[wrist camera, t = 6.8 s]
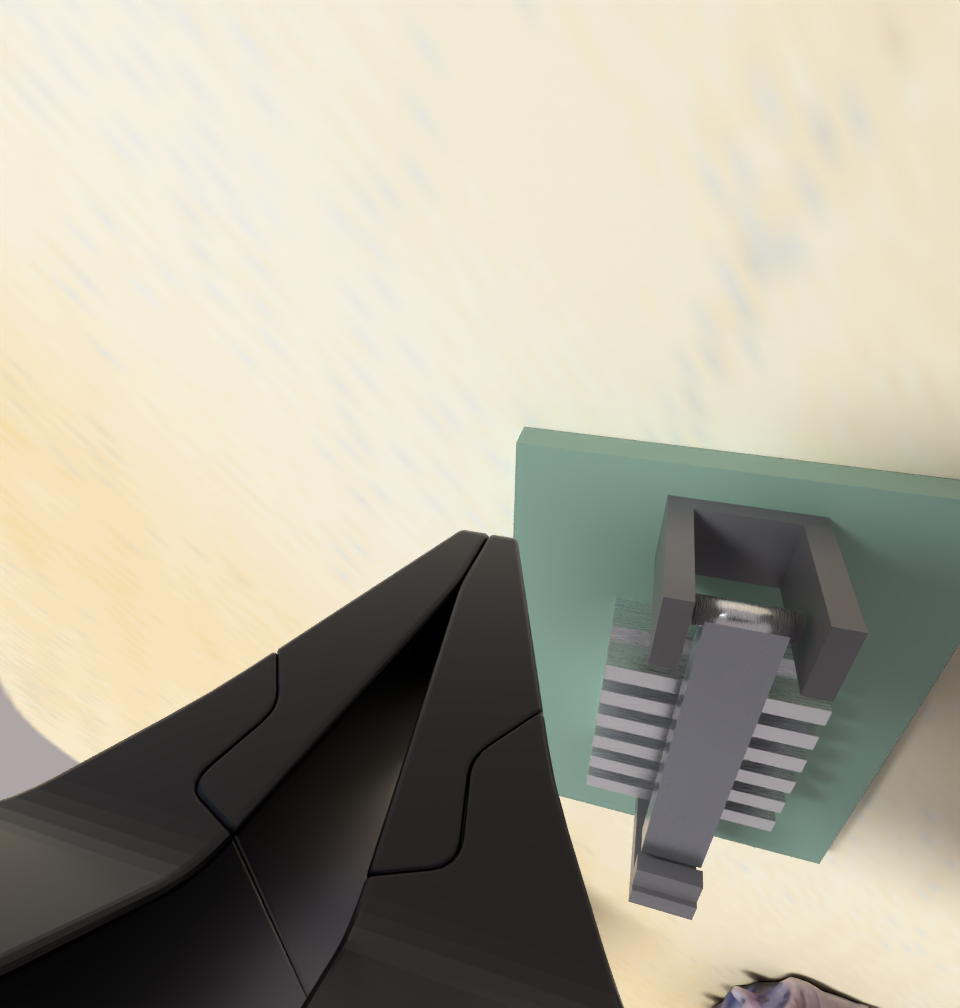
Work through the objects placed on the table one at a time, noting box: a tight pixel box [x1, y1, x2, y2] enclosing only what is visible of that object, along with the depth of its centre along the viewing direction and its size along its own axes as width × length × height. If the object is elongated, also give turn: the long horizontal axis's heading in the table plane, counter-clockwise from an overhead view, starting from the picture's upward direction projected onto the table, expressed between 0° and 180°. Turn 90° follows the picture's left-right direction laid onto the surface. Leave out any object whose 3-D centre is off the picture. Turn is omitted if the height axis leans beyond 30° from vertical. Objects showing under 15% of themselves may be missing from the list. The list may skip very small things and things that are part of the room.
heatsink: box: [586, 598, 832, 832], centre depth 23 cm, size 7×8×3 cm
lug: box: [629, 797, 703, 920], centre depth 25 cm, size 2×2×5 cm
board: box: [513, 427, 960, 864], centre depth 24 cm, size 15×20×1 cm
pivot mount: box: [648, 495, 868, 702], centre depth 18 cm, size 5×3×5 cm, turn 91°
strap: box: [641, 593, 806, 868], centre depth 20 cm, size 12×3×1 cm, turn 1°
